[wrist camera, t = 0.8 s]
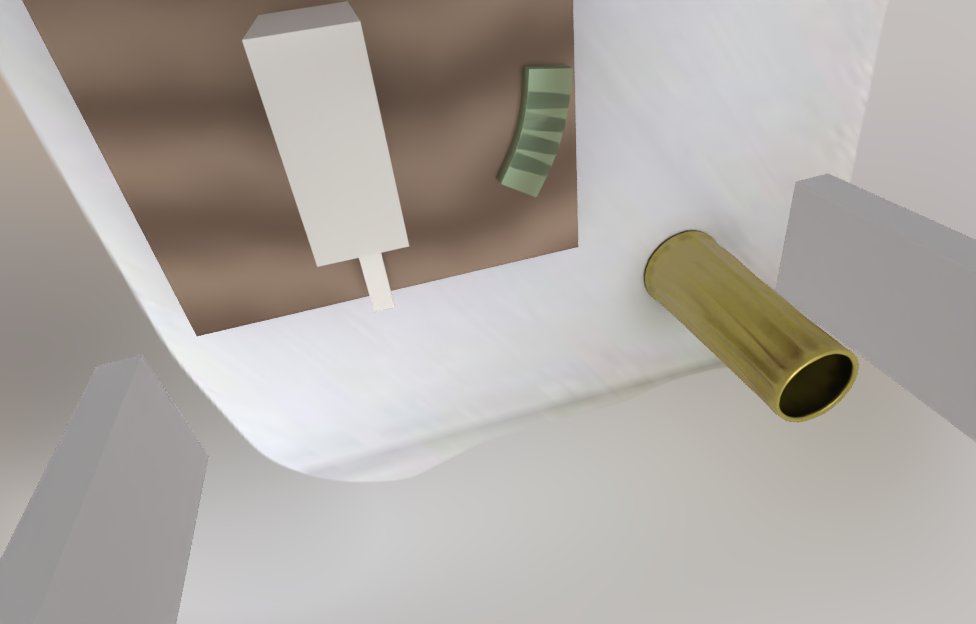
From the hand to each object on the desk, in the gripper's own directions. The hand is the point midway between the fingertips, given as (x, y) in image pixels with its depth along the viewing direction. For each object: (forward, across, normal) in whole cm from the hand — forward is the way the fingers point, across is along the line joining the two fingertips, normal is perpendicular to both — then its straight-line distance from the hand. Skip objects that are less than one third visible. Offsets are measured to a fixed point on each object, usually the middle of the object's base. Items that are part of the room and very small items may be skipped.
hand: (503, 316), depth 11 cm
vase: (+23, +19, -17) cm, 34 cm away
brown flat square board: (+23, -2, 0) cm, 23 cm away
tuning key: (+21, -3, -3) cm, 21 cm away
